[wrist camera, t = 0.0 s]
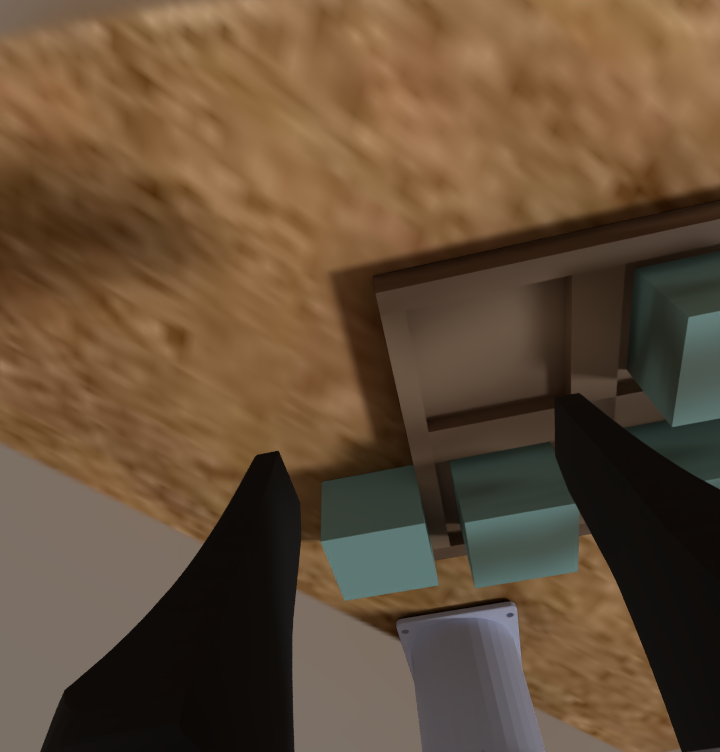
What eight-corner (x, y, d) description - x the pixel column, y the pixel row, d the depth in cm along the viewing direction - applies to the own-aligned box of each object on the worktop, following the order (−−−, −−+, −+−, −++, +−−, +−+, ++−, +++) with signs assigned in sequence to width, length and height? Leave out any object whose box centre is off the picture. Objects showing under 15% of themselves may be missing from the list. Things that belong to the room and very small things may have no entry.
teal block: (427, 523, 31) (438, 585, 28) (343, 538, 32) (344, 600, 29) (413, 462, 29) (424, 523, 25) (321, 480, 29) (320, 541, 26)
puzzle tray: (731, 485, 30) (790, 557, 26) (430, 537, 32) (444, 613, 28) (809, 180, 21) (921, 223, 17) (372, 276, 22) (381, 335, 18)
